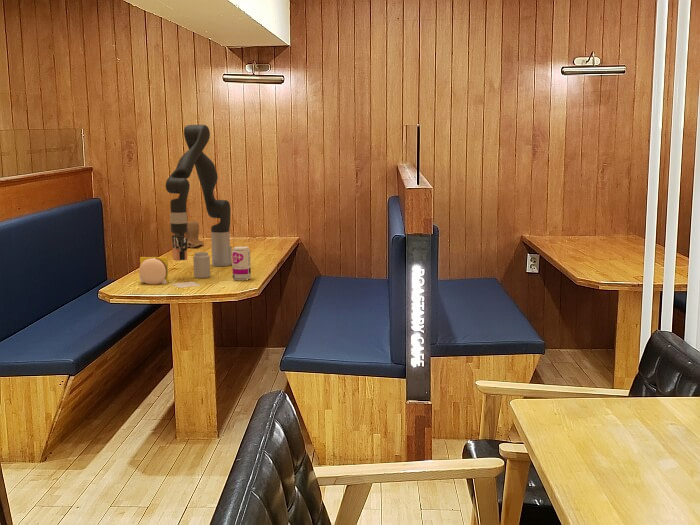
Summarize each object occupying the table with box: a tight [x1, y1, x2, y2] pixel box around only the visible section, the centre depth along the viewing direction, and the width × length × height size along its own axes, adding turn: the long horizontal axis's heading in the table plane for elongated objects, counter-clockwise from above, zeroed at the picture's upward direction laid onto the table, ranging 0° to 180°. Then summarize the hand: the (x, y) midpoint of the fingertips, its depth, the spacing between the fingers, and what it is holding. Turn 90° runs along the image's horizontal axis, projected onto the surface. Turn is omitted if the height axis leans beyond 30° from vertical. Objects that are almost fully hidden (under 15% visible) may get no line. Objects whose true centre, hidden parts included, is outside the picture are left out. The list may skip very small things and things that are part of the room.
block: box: [172, 247, 188, 262], centre depth 358 cm, size 5×5×5 cm
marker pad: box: [171, 281, 201, 289], centre depth 348 cm, size 10×10×1 cm
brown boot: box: [184, 220, 205, 249], centre depth 459 cm, size 15×12×15 cm
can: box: [192, 251, 211, 279], centre depth 365 cm, size 8×8×12 cm
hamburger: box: [138, 256, 169, 285], centre depth 351 cm, size 12×8×12 cm
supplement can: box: [232, 245, 252, 281], centre depth 361 cm, size 8×8×15 cm
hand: (180, 258), depth 359 cm, fingers closed on block, 5 cm apart
